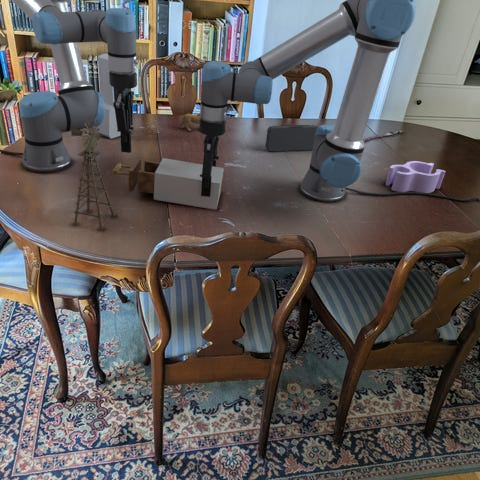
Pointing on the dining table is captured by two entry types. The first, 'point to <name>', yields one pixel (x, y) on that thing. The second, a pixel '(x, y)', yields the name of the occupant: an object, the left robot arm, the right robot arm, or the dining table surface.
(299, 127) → the handheld gaming console
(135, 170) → the drawer
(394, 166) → the clip
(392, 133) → the sword
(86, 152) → the miniature windmill
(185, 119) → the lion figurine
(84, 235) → the dining table surface
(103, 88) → the electronic device
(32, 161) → the left robot arm
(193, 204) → the cabinet
